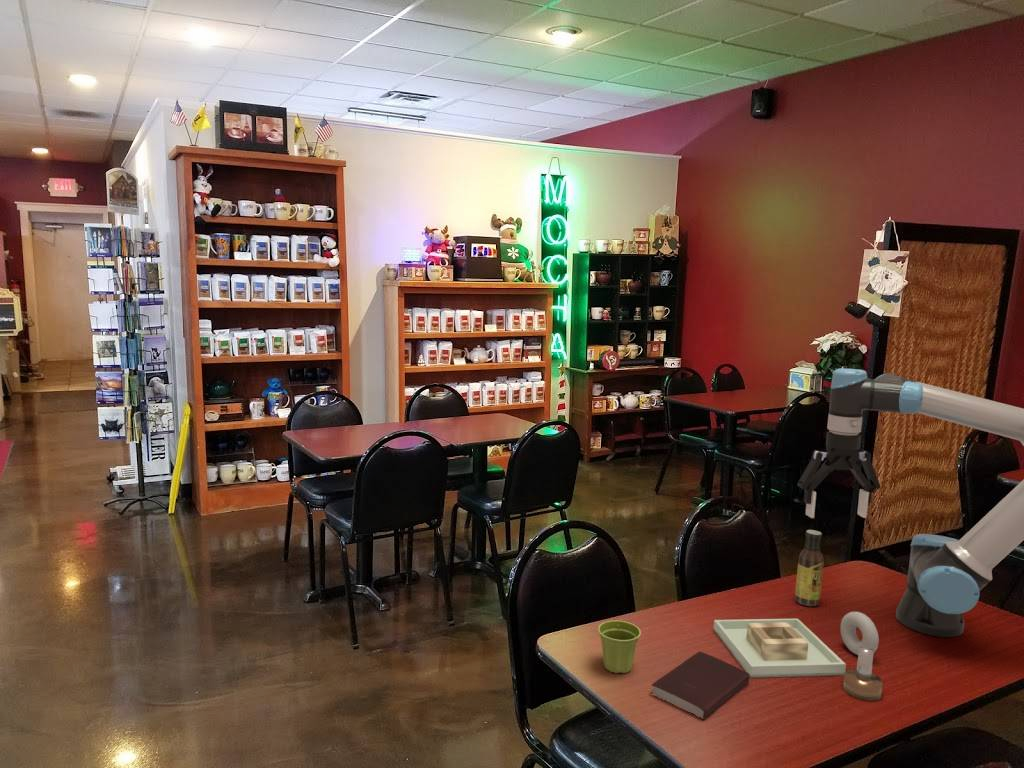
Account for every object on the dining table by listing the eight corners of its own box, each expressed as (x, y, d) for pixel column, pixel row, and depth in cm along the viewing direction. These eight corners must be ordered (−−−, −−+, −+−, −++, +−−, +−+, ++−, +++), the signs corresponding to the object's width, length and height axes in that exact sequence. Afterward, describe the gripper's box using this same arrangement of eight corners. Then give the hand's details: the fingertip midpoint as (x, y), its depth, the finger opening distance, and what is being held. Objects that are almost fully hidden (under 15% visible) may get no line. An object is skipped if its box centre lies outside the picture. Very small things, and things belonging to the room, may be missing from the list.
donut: (880, 663, 162) (884, 622, 161) (868, 665, 161) (872, 624, 160) (846, 642, 172) (850, 603, 170) (835, 644, 171) (838, 605, 169)
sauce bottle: (813, 610, 189) (820, 538, 186) (790, 602, 193) (796, 531, 190) (823, 602, 193) (829, 532, 191) (800, 595, 198) (806, 526, 195)
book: (749, 686, 153) (750, 672, 152) (703, 723, 139) (704, 707, 138) (697, 663, 161) (698, 650, 161) (649, 696, 148) (650, 682, 147)
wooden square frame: (786, 637, 172) (787, 622, 171) (806, 659, 162) (808, 643, 161) (746, 638, 171) (747, 623, 170) (764, 660, 161) (766, 644, 160)
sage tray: (796, 628, 178) (797, 618, 178) (844, 675, 157) (845, 664, 157) (713, 629, 176) (714, 620, 176) (750, 677, 155) (751, 666, 155)
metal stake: (868, 681, 155) (872, 640, 154) (888, 700, 148) (893, 657, 146) (836, 682, 154) (840, 640, 153) (855, 701, 147) (860, 658, 146)
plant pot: (587, 667, 157) (589, 630, 156) (610, 651, 164) (612, 616, 163) (624, 683, 151) (626, 645, 150) (646, 666, 158) (648, 629, 157)
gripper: (802, 435, 168) (795, 521, 171) (901, 435, 171) (892, 520, 174) (787, 428, 176) (780, 511, 179) (882, 429, 178) (874, 511, 181)
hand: (835, 516), depth 176 cm, fingers open, 13 cm apart
